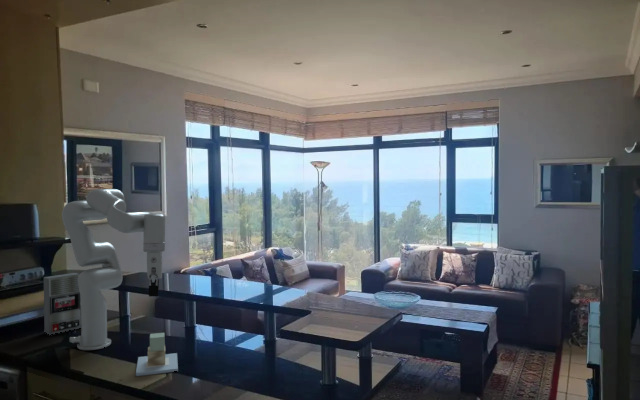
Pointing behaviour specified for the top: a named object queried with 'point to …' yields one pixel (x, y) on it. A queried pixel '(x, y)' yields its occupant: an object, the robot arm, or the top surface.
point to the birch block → (156, 358)
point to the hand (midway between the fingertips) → (153, 292)
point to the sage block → (157, 342)
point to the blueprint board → (169, 366)
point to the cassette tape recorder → (61, 303)
